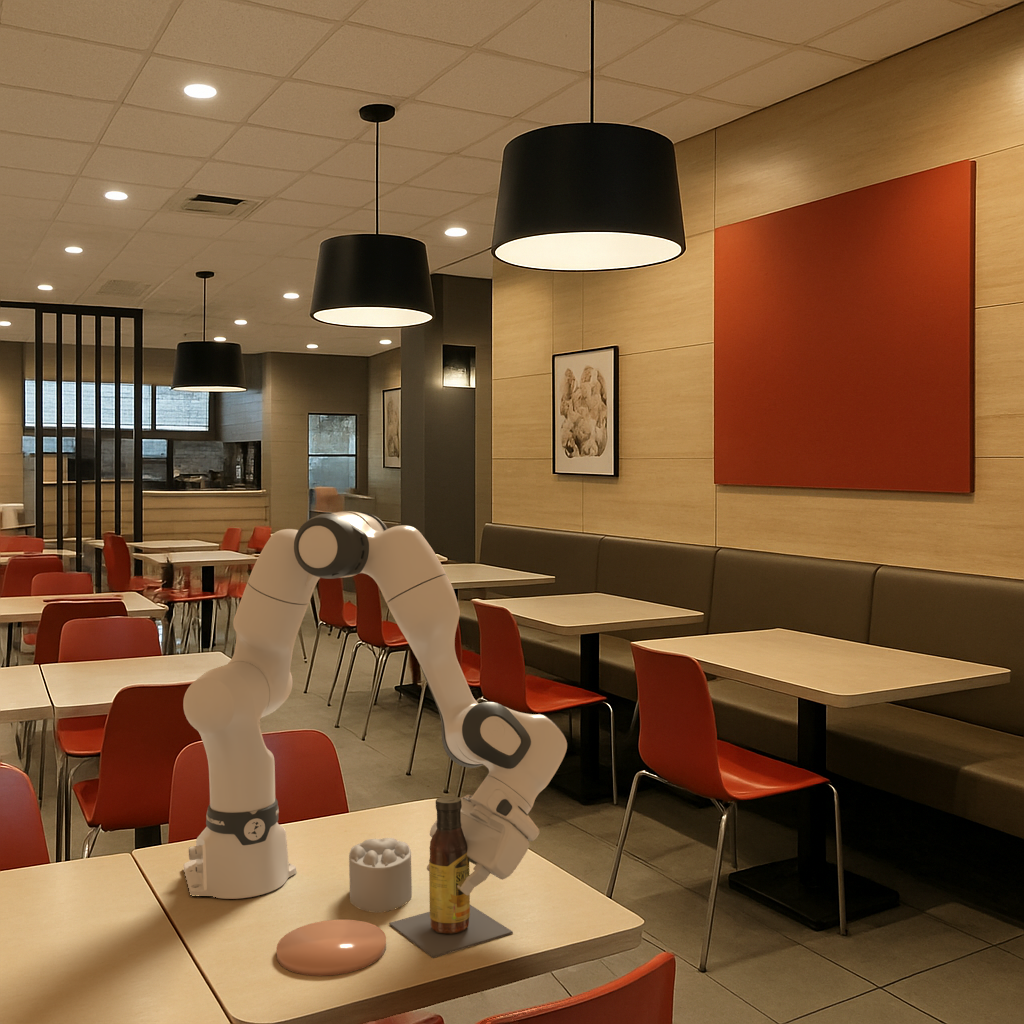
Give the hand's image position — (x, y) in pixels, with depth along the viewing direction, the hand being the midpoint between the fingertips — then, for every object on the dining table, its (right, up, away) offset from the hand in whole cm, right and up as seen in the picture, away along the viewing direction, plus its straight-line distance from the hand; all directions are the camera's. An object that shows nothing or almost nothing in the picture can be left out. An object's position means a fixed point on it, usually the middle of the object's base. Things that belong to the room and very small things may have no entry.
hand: (446, 882), depth 155 cm
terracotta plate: (-17, -8, -6) cm, 19 cm away
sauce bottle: (+1, -7, 0) cm, 7 cm away
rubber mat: (+1, -7, 0) cm, 7 cm away
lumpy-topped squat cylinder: (-12, -8, +14) cm, 20 cm away
